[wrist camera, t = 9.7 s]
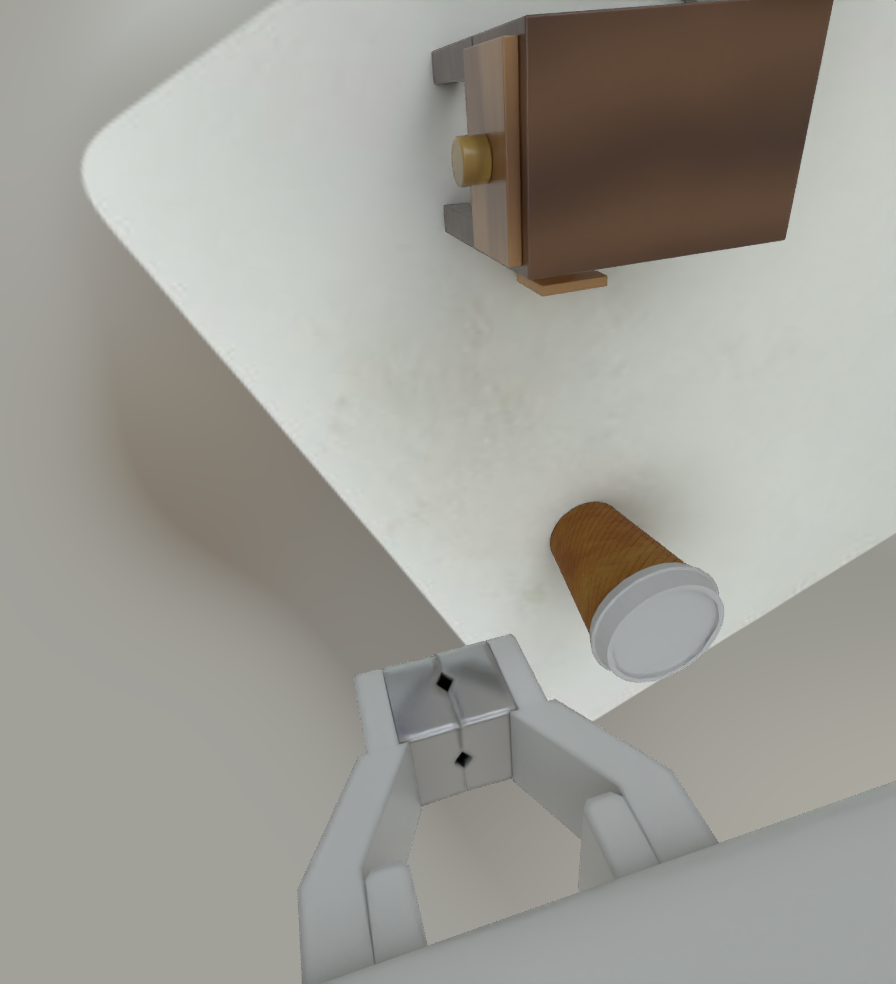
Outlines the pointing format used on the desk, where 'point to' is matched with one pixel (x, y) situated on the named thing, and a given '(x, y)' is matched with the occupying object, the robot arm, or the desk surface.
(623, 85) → the drawer unit
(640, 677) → the disposable coffee cup
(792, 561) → the desk surface
